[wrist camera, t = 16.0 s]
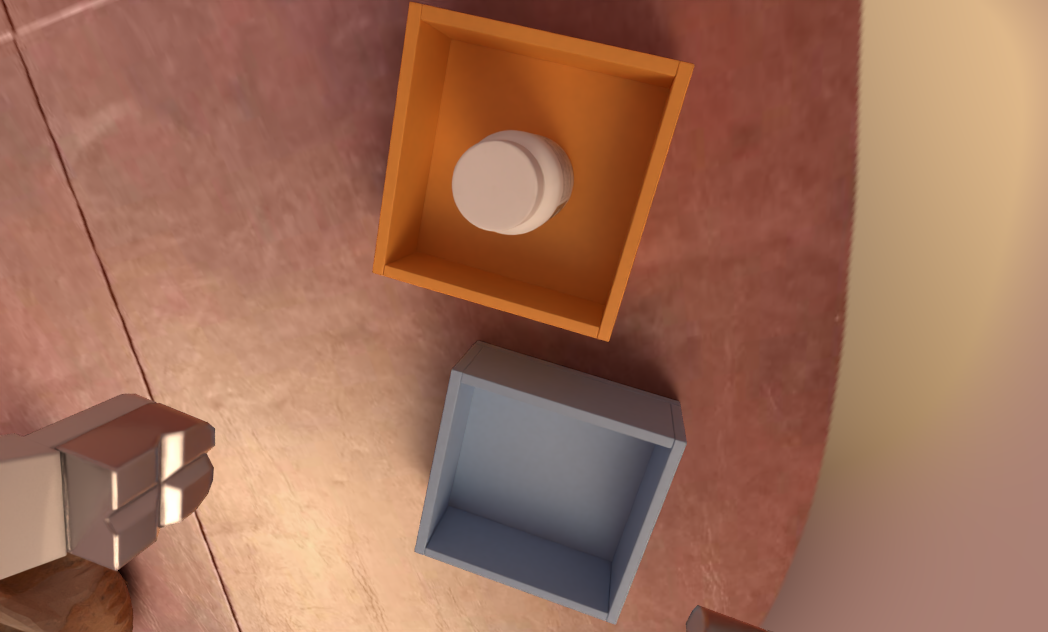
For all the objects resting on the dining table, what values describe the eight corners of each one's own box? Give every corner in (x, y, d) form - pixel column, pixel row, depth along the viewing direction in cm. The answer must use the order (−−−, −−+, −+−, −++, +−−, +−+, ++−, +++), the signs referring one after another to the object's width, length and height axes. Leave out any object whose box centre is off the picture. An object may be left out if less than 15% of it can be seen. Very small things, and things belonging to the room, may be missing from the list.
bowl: (-37, 464, 42) (-190, 556, 32) (148, 465, 43) (53, 553, 34) (15, 636, 47) (-104, 758, 38) (178, 632, 48) (103, 749, 39)
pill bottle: (498, 227, 28) (449, 250, 21) (486, 142, 27) (429, 135, 20) (579, 217, 27) (557, 238, 20) (570, 128, 26) (543, 116, 19)
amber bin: (685, 80, 25) (695, 63, 21) (613, 314, 29) (608, 342, 25) (446, 26, 26) (409, 0, 22) (409, 256, 30) (371, 272, 26)
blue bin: (680, 401, 29) (687, 442, 25) (618, 565, 33) (615, 625, 29) (477, 339, 31) (451, 369, 27) (441, 503, 35) (414, 552, 31)
